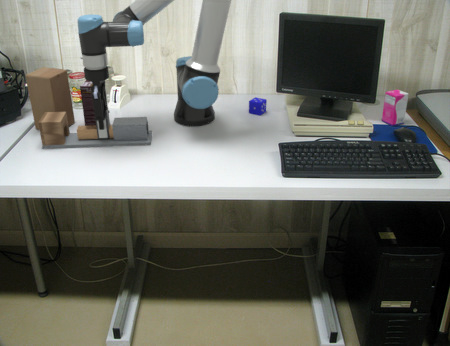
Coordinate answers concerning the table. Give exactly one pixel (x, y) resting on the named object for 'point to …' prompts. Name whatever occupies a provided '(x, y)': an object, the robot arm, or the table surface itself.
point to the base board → (97, 142)
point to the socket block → (54, 128)
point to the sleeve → (130, 129)
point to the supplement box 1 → (87, 103)
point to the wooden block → (49, 93)
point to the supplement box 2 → (394, 107)
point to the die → (257, 106)
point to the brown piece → (95, 129)
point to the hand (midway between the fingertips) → (104, 134)
